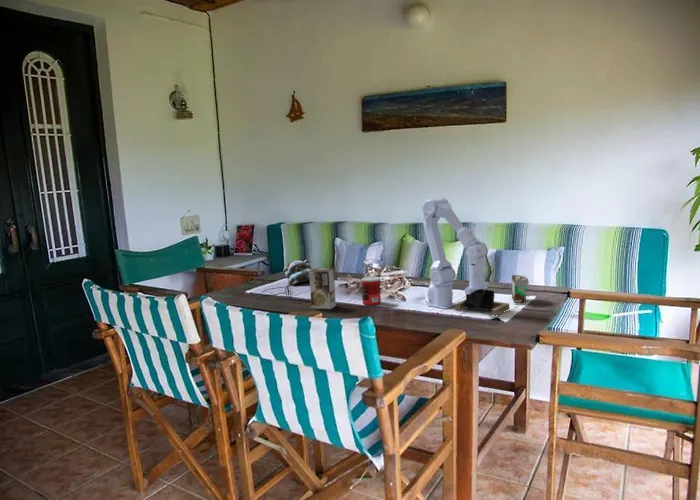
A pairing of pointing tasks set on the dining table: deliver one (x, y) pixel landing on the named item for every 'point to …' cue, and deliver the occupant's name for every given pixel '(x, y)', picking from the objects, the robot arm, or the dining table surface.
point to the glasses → (280, 293)
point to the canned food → (371, 291)
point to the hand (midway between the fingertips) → (477, 308)
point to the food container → (519, 288)
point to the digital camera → (486, 302)
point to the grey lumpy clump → (297, 271)
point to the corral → (497, 309)
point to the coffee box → (322, 288)
